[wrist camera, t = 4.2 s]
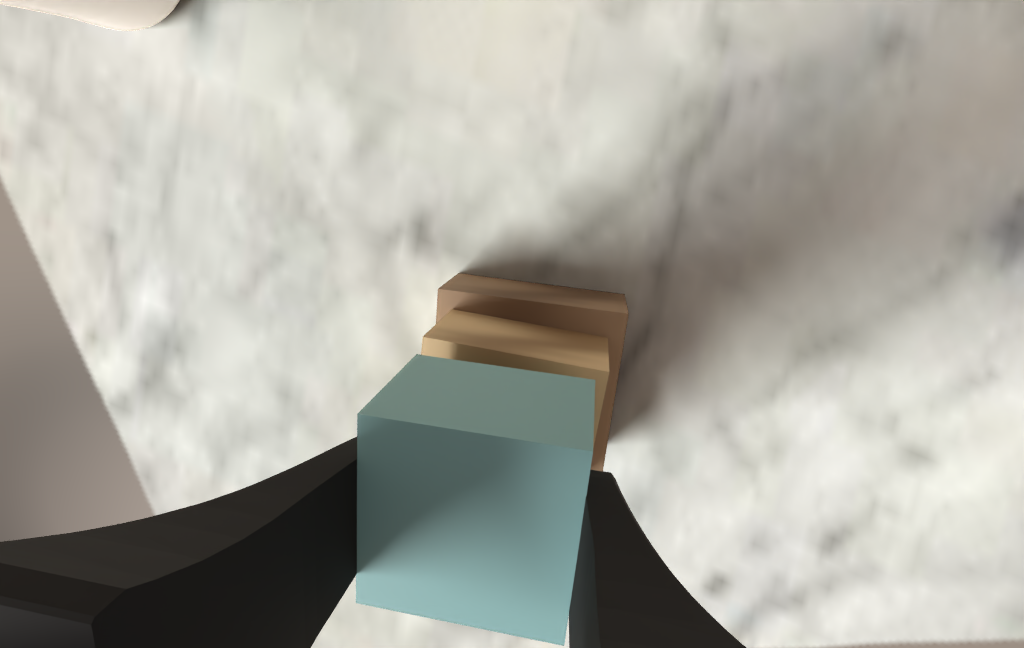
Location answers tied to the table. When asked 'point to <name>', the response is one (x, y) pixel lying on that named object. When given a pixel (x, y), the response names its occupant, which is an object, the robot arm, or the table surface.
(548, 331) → the tower mid
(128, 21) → the drinking glass
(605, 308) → the tower base
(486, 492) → the teal block
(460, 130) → the table surface
